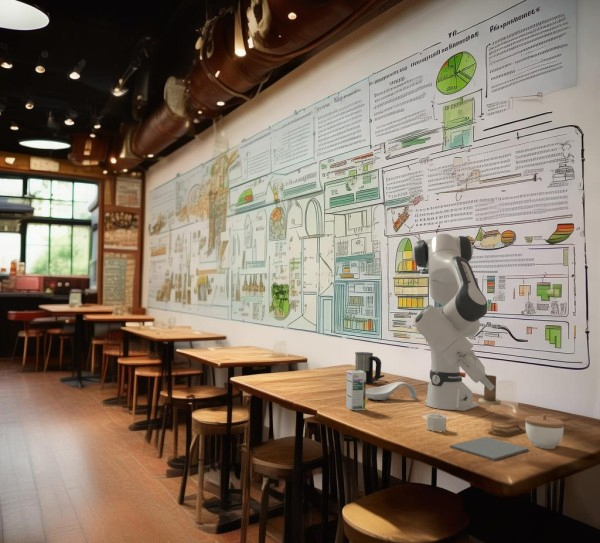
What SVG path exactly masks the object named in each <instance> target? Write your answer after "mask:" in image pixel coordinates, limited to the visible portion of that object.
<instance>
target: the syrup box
mask: <svg viewBox="0 0 600 543" xmlns="http://www.w3.org/2000/svg"><path fill="white" fill-rule="evenodd" d="M366 385H367V383H366V372H364V371H361V370H357V371H355V370H347V371H346V395H345V398H346V399H345V401H346V402H345V408H346V407H347V408H346V409H348V408H349V409H351V410H354V411H364V410H363V409H365V410H366V395H365V394H366V389H367V387H366ZM349 409H348V410H349ZM351 410H350V411H351Z"/></svg>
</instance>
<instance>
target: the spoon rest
mask: <svg viewBox="0 0 600 543" xmlns="http://www.w3.org/2000/svg"><path fill="white" fill-rule="evenodd" d="M402 386H405V387H407V388H408V390H409V396H410V398H411V399H413V400H414V399H415V400H416V399H418V395H417V391H416V389H415V388H414V387H413V385H412V384H409V383H407V382H405V381H394V382H392V383H387V384H385V385H381V386H377V387H370V388H369V387H368V388H366V394H365V397H367V398H368V399H370V400H372V399H373V400H372V401H377V400H384V401H386V400H387V399H389V398H390V396H392V394H393V393H394V392H395V391H396V390H397V389H398V388H399V387H402Z"/></svg>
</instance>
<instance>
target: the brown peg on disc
mask: <svg viewBox="0 0 600 543" xmlns="http://www.w3.org/2000/svg"><path fill="white" fill-rule="evenodd" d="M485 376H486V377H487V379H488V380H489V381H490V382H491V383H492V384H493V385H494V389H493V390H491V391H490V390H489V389H488V388H487V387H486V386H485V385H483V386H484V389H483V390H484V391H483V393H484V394H483V397H480V398H478V404H479V403H480V404H482V405H483V404H484V405H487V406H501V405H502V400H500V399H497V376H496V375H493V374H492V375H490V374H489V375H488V374H487V375H485Z"/></svg>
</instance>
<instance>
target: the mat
mask: <svg viewBox="0 0 600 543" xmlns="http://www.w3.org/2000/svg"><path fill="white" fill-rule="evenodd" d="M449 448H452V449H454V450H457V451H461V452H464V453H467V454H471V455H474V456H477V457H481V458H484V459H487V460H491V461H497V460H500V459H503V458H507V457H511V456H514V455H518V454H521V453H524V452H529V448H528V447H525V446H522V445H517V444H513V443H511V442H506V441H503V440H499V439H496V438H495V439H494V438H492V437H488V436H484V437H483V436H482V437H479V438H475V439H471V440H467V441H462V442H458V443H455V444H454V443H453V444H450V445H449Z"/></svg>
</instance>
